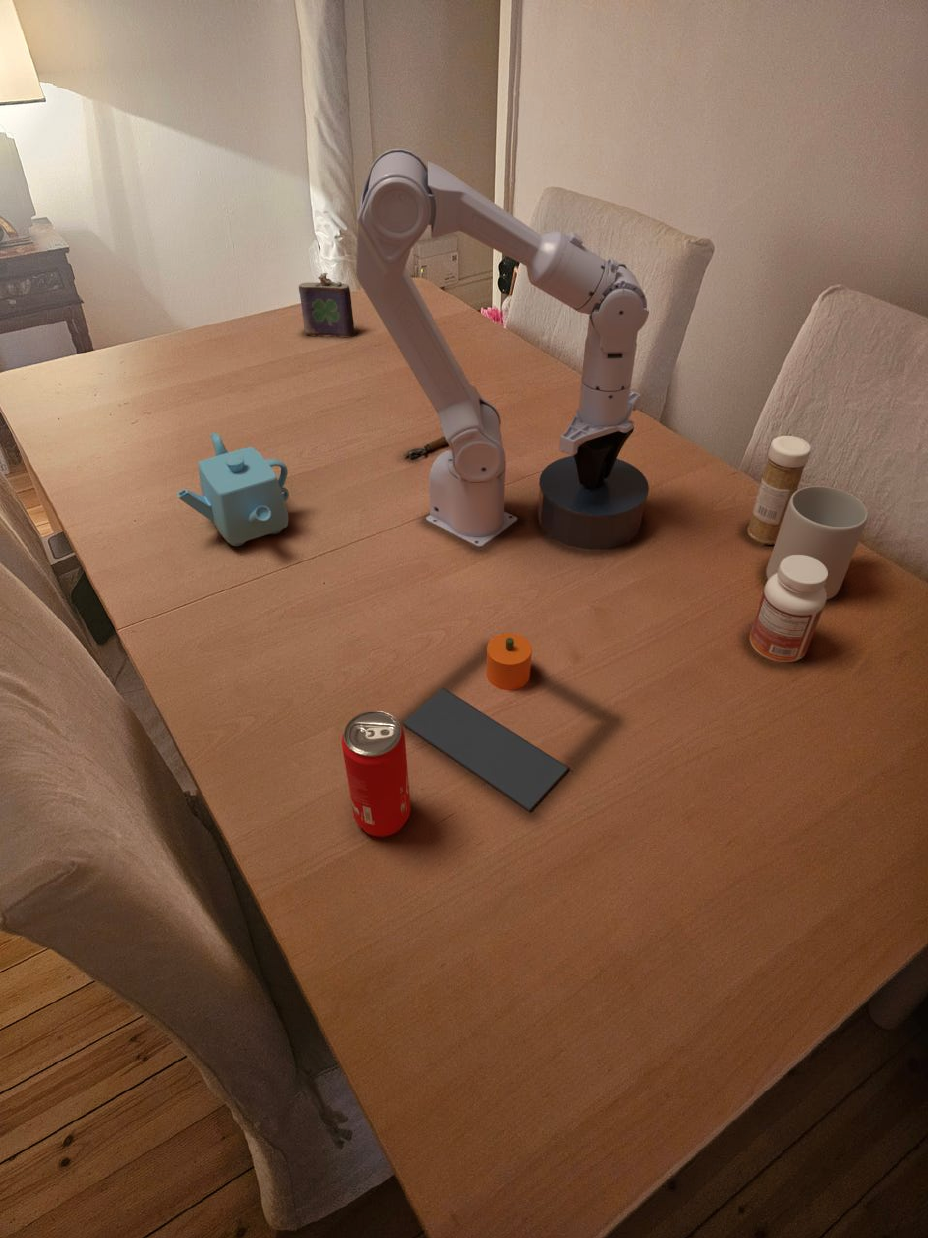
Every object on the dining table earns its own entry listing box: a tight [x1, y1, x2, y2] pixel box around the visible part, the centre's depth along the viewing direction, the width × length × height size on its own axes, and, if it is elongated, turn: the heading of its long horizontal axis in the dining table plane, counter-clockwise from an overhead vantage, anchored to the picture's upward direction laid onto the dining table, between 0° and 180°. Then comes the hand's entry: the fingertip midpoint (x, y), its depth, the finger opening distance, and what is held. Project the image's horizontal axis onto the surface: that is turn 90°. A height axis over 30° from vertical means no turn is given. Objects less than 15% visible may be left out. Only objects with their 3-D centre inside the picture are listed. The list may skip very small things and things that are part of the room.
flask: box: [298, 272, 355, 338], centre depth 147 cm, size 9×3×11 cm, turn 84°
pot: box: [537, 489, 645, 551], centre depth 106 cm, size 13×13×6 cm
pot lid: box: [538, 455, 650, 518], centre depth 103 cm, size 14×14×5 cm
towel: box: [402, 687, 570, 812], centre depth 83 cm, size 16×14×1 cm
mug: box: [765, 485, 869, 601], centre depth 96 cm, size 12×8×11 cm
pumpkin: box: [486, 632, 533, 691], centre depth 86 cm, size 5×5×5 cm
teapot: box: [175, 432, 290, 547], centre depth 104 cm, size 18×14×10 cm
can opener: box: [403, 435, 448, 459], centre depth 121 cm, size 9×2×1 cm, turn 123°
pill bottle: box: [749, 555, 828, 663], centre depth 87 cm, size 6×6×11 cm
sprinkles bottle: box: [746, 435, 812, 546], centre depth 101 cm, size 5×5×13 cm
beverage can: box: [341, 710, 411, 838], centre depth 71 cm, size 5×5×12 cm
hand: (594, 479), depth 104 cm, fingers closed on pot lid, 2 cm apart
